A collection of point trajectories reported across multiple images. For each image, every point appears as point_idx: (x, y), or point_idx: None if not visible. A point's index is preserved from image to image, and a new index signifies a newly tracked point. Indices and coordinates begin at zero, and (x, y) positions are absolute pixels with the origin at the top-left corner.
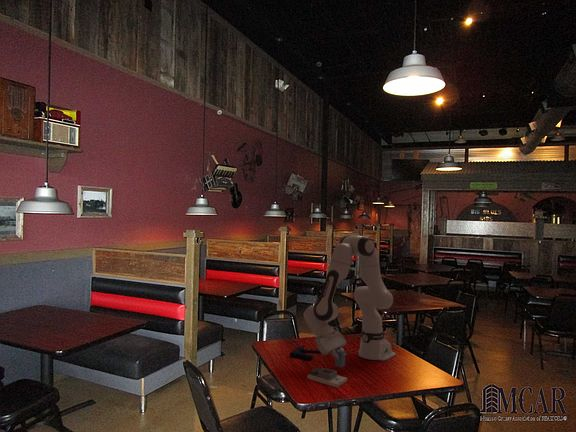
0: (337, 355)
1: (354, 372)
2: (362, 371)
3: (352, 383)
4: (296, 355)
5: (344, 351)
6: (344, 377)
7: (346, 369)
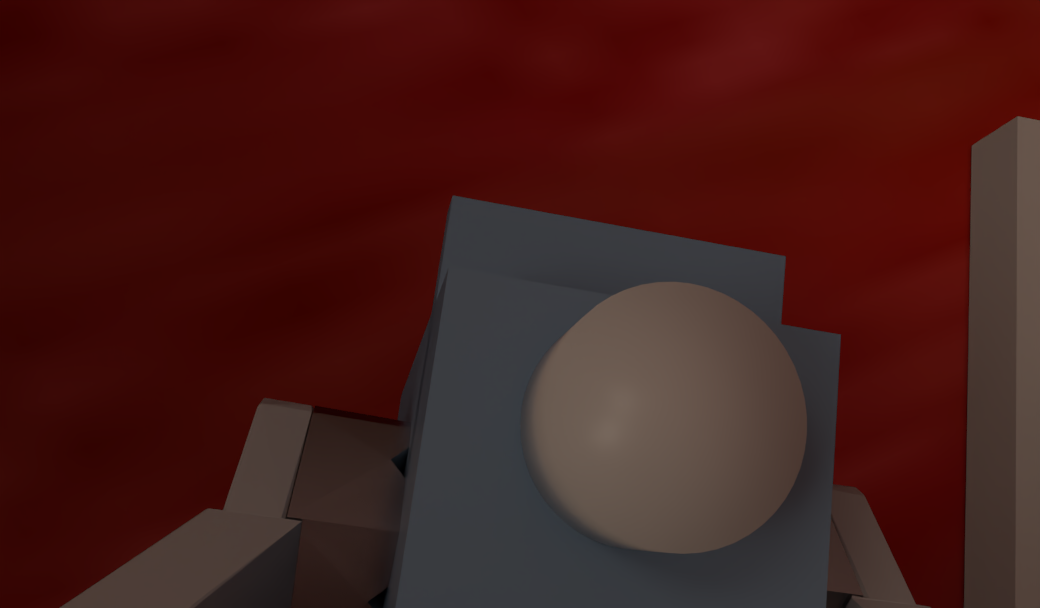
0: (894, 569)
1: (333, 164)
2: (141, 8)
3: (1005, 13)
4: None
5: (533, 285)
6: (1033, 179)
7: (219, 429)
